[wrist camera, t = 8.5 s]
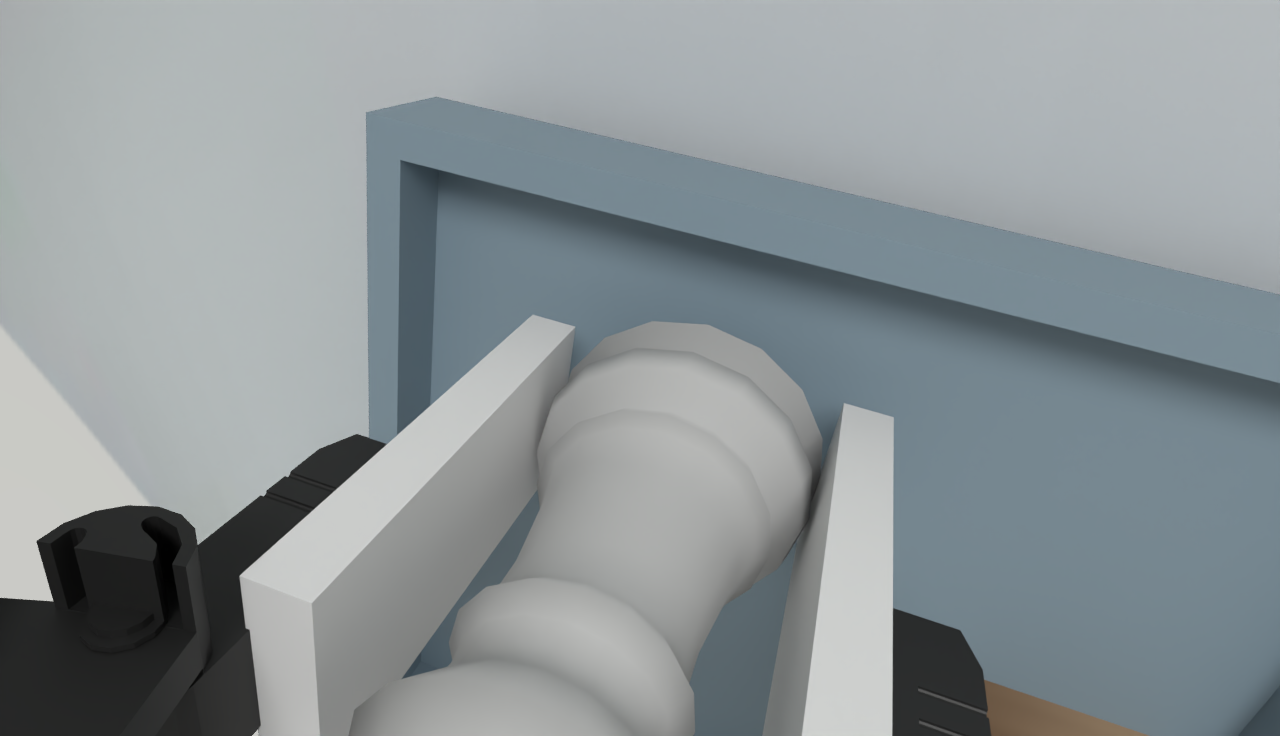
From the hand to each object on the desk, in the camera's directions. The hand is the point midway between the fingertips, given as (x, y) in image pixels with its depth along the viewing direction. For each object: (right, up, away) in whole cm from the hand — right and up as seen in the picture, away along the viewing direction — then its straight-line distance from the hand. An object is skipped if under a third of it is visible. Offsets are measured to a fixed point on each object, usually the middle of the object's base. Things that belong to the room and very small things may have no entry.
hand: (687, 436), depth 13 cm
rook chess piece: (0, 0, +1) cm, 1 cm away
